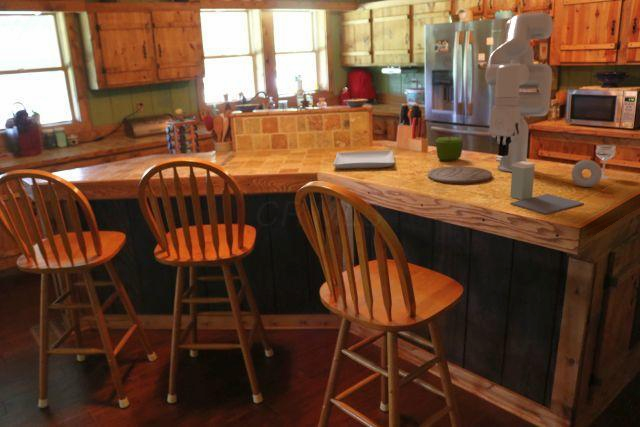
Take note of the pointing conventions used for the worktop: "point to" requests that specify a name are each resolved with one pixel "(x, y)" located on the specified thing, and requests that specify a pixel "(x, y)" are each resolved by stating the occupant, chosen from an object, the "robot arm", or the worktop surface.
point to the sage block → (522, 180)
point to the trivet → (459, 175)
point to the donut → (589, 165)
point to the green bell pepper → (449, 148)
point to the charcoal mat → (546, 204)
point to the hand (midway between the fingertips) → (503, 155)
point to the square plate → (364, 159)
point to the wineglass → (605, 155)
